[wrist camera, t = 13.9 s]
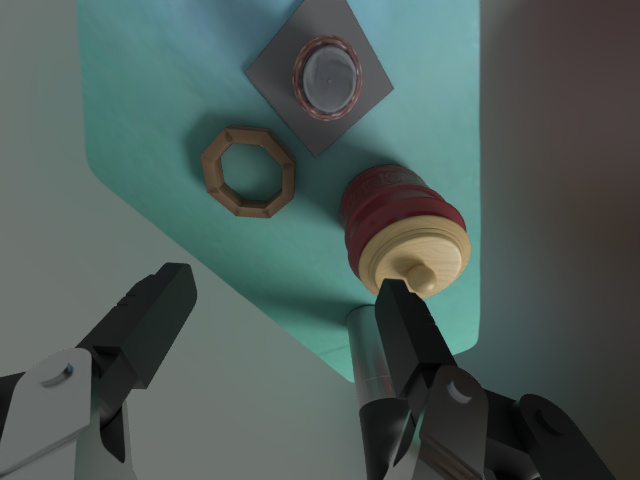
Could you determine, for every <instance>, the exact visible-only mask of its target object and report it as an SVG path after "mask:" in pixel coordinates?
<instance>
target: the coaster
mask: <svg viewBox="0 0 640 480" xmlns="http://www.w3.org/2000/svg"><path fill="white" fill-rule="evenodd" d="M322 35H334V36H337V37H340V38H342V39H344V40H345V41H347V42H348V43H349V44H350V45H351V46H352V47H353V49H354V50H355V52H356V54H357V56H358V58H359V60H360V64H361V68H362V86H361V91H360V94H359V96H358V99H357V101H356V103H355V104H354V106H353V107H352V108H351V110H350V111H349V112H348V113H347V114H345V115H344V116H343V117H341V118H338V119H336V120H332V121H321V120H318V119H315V118H313V117H311V116H310V115H308V114H307V113H306V112H305V111H304V110H303V109H302V108H301V107H300V105H299V103H298V102H297V100H296V97H295V94H294V91H293V87H292V71H293V66H294V62H295V60H296V57H297V55H298V54H299V52H300V51H301V49H302V48H303V47H304V46H305V45H306V44H307V43H308V42H309V41H311V40H312V39H314V38H316V37H318V36H322ZM245 74H246V75H247V76H248V77H249V79H250V80H251V81H252V82H253V83H254V85H255V86H256V87H257V88H258V89H259V91H260V92H261V93H262V94H263V95H264V97H265V98H266V99H267V100H268V101H269V103H270V104H271V105H272V106H273V107H274V109H275V110H276V111H277V112H278V114H279V115H280V116H281V117H282V118H283V120H284V121H285V122H286V123H287V124H288V126H289V127H290V128H291V129H292V130H293V132H294V133H295V134H296V135H297V136H298V138H299V139H300V140H301V141H302V142H303V144H304V145H305V146H306V147H307V148H308V150H309V151H310V152H311V153H312V154H313V156H314V157H315V158H316V157H317V156H318V155H319V154H321V153H322V152H323V151H324V150H325V149H326V148H327V147H329V146H330V145H331V144H332V143H333V142H334V141H335V140H336V139H338V138H339V137H340V136H341V135H342V134H343V133H344V132H346V131H347V130H348V129H349V128H350V127H351V126H352V125H354V124H355V123H356V122H357V121H358V120H359V119H360V118H362V117H363V116H364V115H365V114H366V113H367V112H368V111H370V110H371V109H372V108H373V107H374V106H375V105H376V104H378V103H379V102H380V101H381V100H382V99H383V98H384V97H386V96H387V95H388V94H389V93H390V92H391V91H392V90H394V87H393V85H392V84H391V82H390V80H389V78H388V76H387V74H386V73H385V71H384V69H383V67H382V65H381V63H380V62H379V60H378V58H377V56H376V54H375V52H374V51H373V49H372V47H371V45H370V43H369V41H368V40H367V38H366V36H365V34H364V32H363V30H362V29H361V27H360V25H359V23H358V21H357V19H356V17H355V16H354V14H353V12H352V10H351V8H350V6H349V5H348V3H347V1H346V0H304V1H303V2H302V4H301V5H300V6H299V7H298V8H297V10H296V11H295V12H294V13H293V15H292V16H291V17H290V18H289V19H288V21H287V22H286V23H285V24H284V26H283V27H282V28H281V29H280V30H279V32H278V33H277V34H276V35H275V37H274V38H273V39H272V40H271V41H270V43H269V44H268V45H267V46H266V48H265V49H264V50H263V51H262V52H261V54H260V55H259V56H258V57H257V59H256V60H255V61H254V62H253V63H252V65H251V66H250V67H249V68H248V70H247V71H246V72H245Z"/></svg>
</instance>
